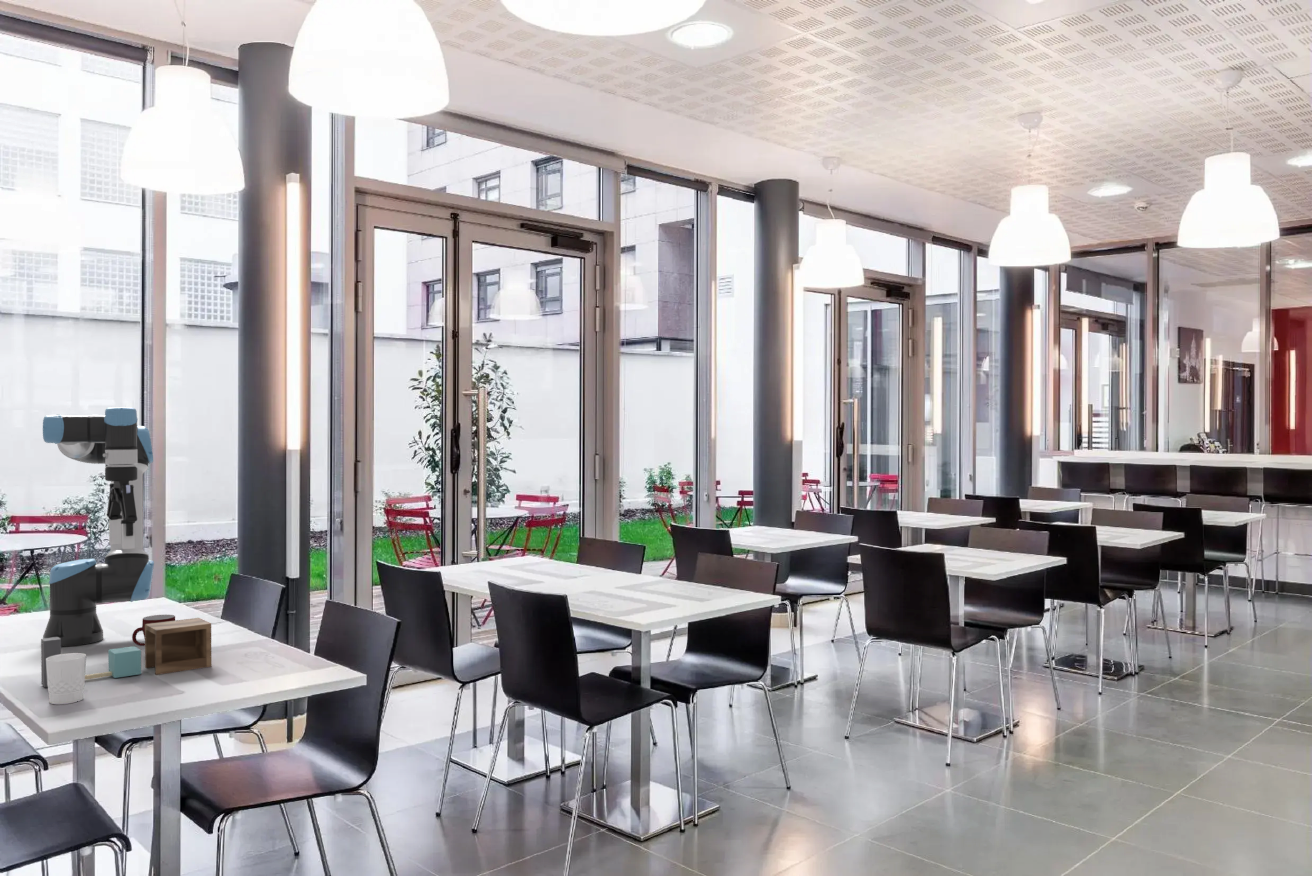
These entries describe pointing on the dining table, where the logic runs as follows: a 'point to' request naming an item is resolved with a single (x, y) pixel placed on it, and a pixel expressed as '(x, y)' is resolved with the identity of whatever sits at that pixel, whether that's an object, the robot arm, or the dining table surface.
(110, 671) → the double-ended block stick
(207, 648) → the shelf
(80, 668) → the white cup
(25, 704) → the dining table surface
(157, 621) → the mug
